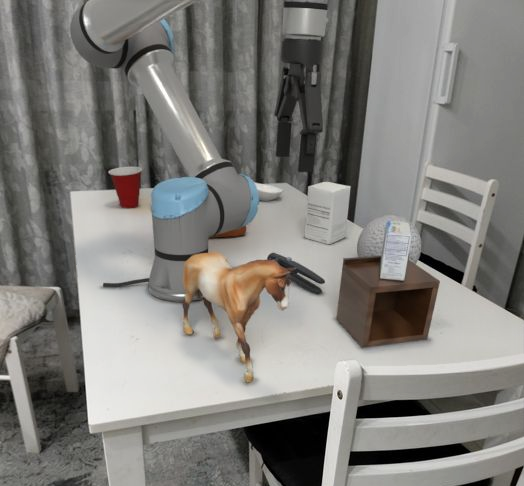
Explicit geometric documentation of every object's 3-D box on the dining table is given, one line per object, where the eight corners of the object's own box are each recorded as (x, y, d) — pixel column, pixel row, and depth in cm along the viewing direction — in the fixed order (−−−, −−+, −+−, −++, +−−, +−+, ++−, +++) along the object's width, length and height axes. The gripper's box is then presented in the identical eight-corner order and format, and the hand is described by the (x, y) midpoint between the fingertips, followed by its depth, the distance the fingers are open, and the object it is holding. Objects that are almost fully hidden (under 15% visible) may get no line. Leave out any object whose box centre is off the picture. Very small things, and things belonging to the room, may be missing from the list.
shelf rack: (361, 347, 98) (371, 282, 91) (336, 319, 108) (343, 258, 101) (427, 339, 102) (441, 275, 95) (396, 312, 111) (407, 253, 105)
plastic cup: (111, 202, 179) (107, 166, 173) (143, 201, 182) (140, 165, 176) (113, 211, 170) (108, 172, 164) (146, 209, 173) (144, 171, 167)
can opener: (259, 274, 127) (260, 252, 125) (280, 268, 131) (281, 246, 129) (310, 299, 116) (312, 275, 113) (332, 291, 120) (334, 268, 117)
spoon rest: (280, 195, 196) (281, 175, 192) (283, 203, 186) (285, 182, 182) (216, 194, 194) (216, 174, 190) (216, 202, 184) (216, 181, 180)
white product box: (320, 231, 159) (325, 180, 152) (345, 237, 154) (352, 185, 147) (303, 237, 153) (307, 185, 145) (329, 245, 148) (334, 191, 141)
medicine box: (404, 281, 94) (412, 235, 90) (379, 279, 95) (386, 232, 91) (402, 266, 101) (410, 222, 97) (379, 264, 102) (386, 220, 97)
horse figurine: (290, 384, 86) (299, 266, 76) (251, 398, 82) (255, 276, 72) (199, 312, 108) (197, 213, 98) (165, 321, 104) (158, 219, 94)
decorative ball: (374, 292, 120) (384, 228, 113) (342, 269, 132) (349, 210, 125) (428, 284, 125) (440, 222, 118) (392, 263, 137) (401, 205, 130)
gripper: (352, 41, 83) (335, 178, 94) (299, 37, 103) (290, 151, 114) (308, 38, 81) (296, 179, 92) (262, 35, 101) (257, 151, 112)
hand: (293, 163), depth 103 cm, fingers open, 13 cm apart
